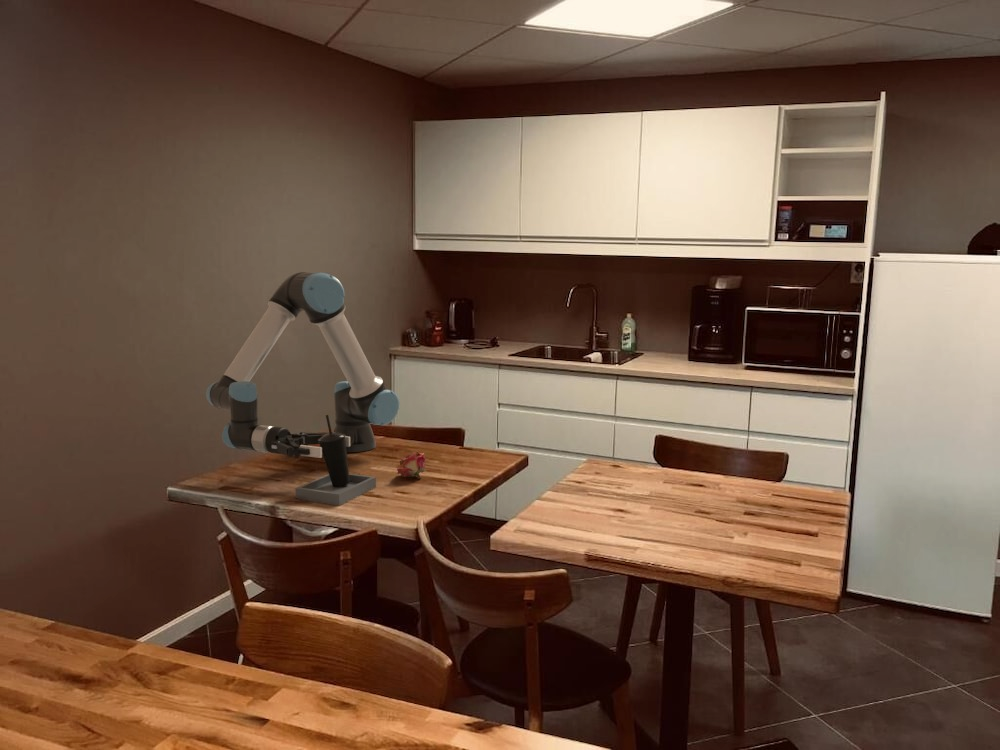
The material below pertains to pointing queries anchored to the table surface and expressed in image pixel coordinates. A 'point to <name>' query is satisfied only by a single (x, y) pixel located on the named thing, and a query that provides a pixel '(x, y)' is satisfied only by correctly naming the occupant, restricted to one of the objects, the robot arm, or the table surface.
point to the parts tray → (335, 489)
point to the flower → (412, 465)
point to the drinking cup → (335, 456)
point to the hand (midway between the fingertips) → (335, 447)
